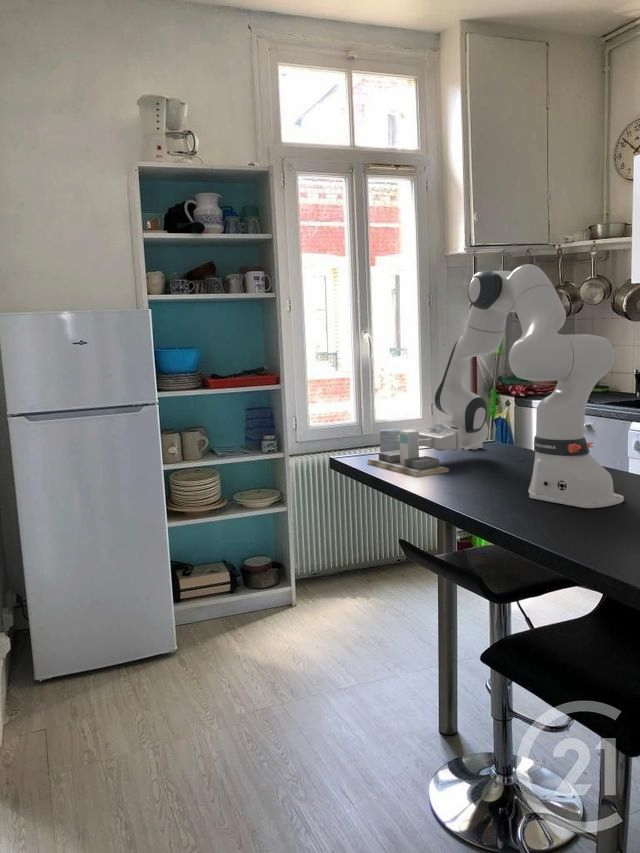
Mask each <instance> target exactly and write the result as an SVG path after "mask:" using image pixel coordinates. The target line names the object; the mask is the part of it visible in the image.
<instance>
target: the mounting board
mask: <svg viewBox="0 0 640 853" xmlns="http://www.w3.org/2000/svg"><path fill="white" fill-rule="evenodd" d="M367 465H370V466H375V467H378V468H381V469H384V470H389V471H392V472H396V473H401V474H404V475H406V476H407V475H408V476H411V477H415V478H417V477H424V476H430V475H436V474H443V473H448V472H450V468H449V467H445V466H441V465H440V458H436V457H431V456H427V455H426V456H425V455H424V456H419V457H416V458H409V459H405V465H403V464H400V450H397V451H389V452H382V453H380V452H378V458H377V459H376V458H367Z"/></svg>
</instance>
